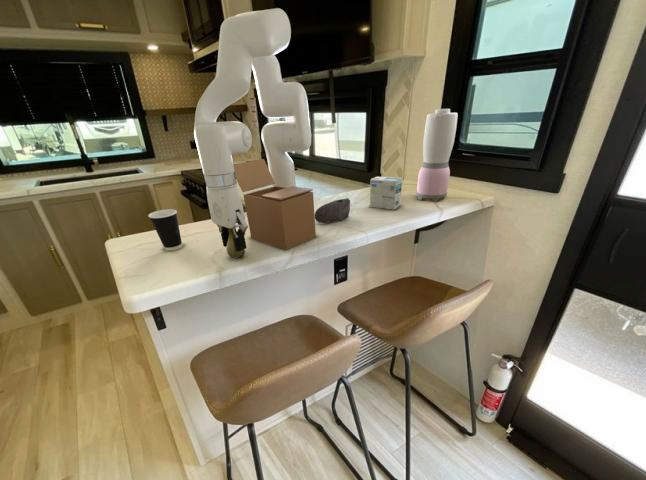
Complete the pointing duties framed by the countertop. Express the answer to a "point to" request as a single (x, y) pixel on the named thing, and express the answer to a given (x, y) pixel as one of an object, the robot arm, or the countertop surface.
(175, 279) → the countertop surface
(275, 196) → the carton
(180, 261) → the countertop surface
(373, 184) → the light bulb box
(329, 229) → the countertop surface
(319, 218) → the perforated stone tool
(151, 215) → the dixie cup
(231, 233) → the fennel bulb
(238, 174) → the flap
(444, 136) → the blender
